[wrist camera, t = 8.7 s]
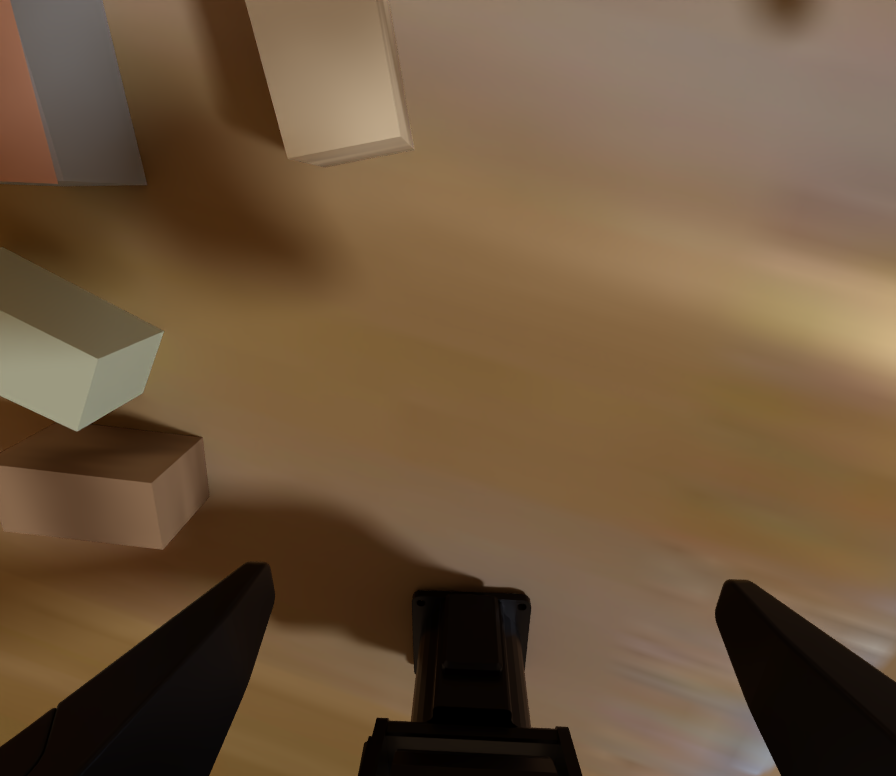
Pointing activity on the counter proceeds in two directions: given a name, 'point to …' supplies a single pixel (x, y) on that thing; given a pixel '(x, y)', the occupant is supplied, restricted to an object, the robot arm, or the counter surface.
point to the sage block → (68, 346)
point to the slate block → (78, 93)
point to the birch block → (333, 78)
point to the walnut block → (103, 484)
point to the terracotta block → (19, 112)
